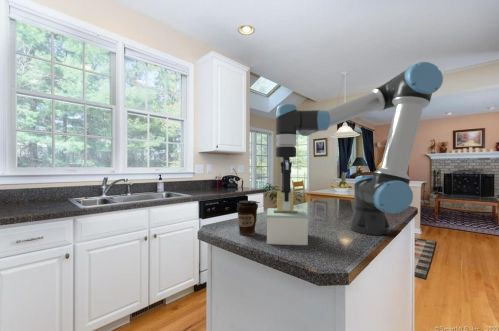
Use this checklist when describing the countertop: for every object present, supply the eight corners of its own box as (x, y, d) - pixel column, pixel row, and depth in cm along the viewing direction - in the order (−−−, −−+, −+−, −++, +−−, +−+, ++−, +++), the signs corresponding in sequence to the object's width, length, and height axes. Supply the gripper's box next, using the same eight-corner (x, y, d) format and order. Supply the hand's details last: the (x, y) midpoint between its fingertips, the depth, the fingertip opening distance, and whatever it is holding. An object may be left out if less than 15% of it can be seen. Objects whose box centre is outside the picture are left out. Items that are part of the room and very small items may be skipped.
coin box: (302, 233, 96) (302, 208, 96) (307, 245, 83) (307, 216, 83) (267, 232, 98) (267, 208, 98) (266, 243, 84) (266, 215, 84)
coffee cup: (255, 237, 91) (255, 203, 91) (234, 236, 93) (234, 202, 93) (259, 231, 100) (259, 200, 100) (240, 230, 102) (240, 199, 102)
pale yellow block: (292, 209, 91) (292, 191, 91) (293, 211, 88) (293, 192, 88) (276, 209, 92) (277, 191, 92) (277, 210, 89) (277, 192, 89)
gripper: (275, 148, 98) (275, 205, 98) (276, 144, 82) (276, 213, 82) (294, 148, 98) (294, 205, 98) (298, 144, 82) (298, 213, 82)
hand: (286, 209), depth 90 cm, fingers open, 3 cm apart
